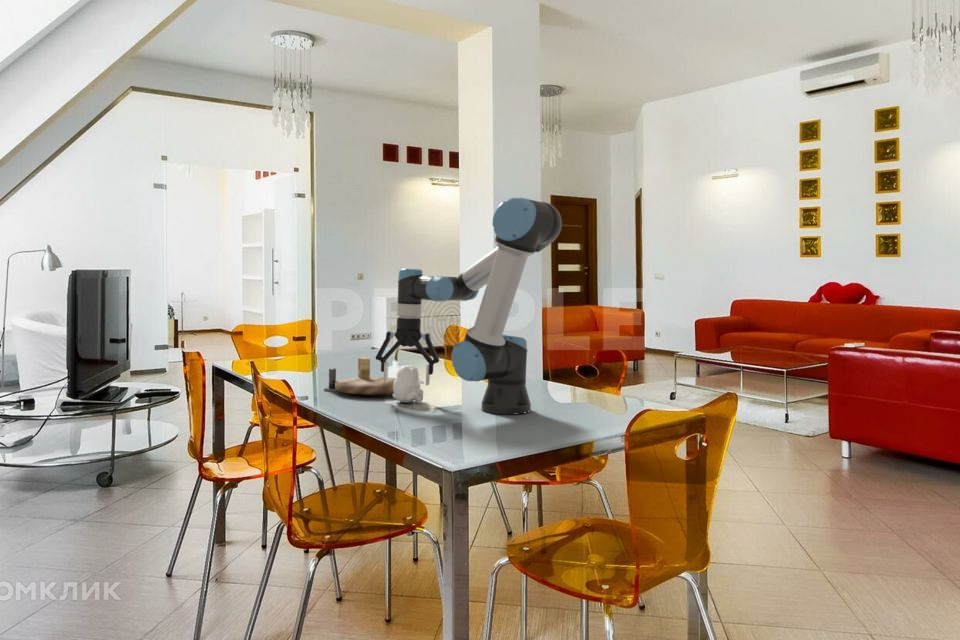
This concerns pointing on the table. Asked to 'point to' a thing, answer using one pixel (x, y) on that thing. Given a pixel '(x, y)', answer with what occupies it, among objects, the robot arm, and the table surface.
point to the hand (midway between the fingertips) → (406, 383)
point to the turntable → (365, 382)
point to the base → (333, 379)
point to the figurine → (408, 385)
